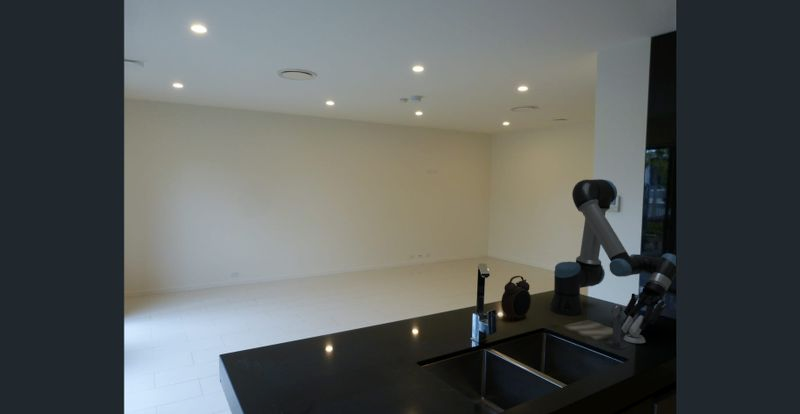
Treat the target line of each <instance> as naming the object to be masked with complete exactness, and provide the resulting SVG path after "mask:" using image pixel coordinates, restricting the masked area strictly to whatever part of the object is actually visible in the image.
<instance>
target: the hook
mask: <svg viewBox="0 0 800 414" xmlns="http://www.w3.org/2000/svg"><path fill="white" fill-rule="evenodd" d="M642 318H644V315H642V314H640V315H639V316H637V318H636V320H634V321H633V322H632V324H631V326H630V327H629V329H628V332H629V333H627V334H626V333H625V335H624V336H623V341H625V342H628V343H630V344H644V343H646V339H645V337H644V336H643V335H641V334H639V335H638V337H636V336H635V335H634V334H633V331H634V329H635V328H636V326H637V324H638V323H639V321H640V319H641V320H643V319H642Z"/></svg>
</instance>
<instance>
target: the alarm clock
mask: <svg viewBox="0 0 800 414" xmlns="http://www.w3.org/2000/svg"><path fill="white" fill-rule="evenodd" d="M516 278H520V279H521V280H520V281H517V282H515V283H514V282H513V280H515V279H516ZM530 286H531V285H530V284H529V283H528V282H527V279H524V277H523V276H521V275H515V276H512V277H511V278H510V279H509V281H508V282H507V283H506V284H505V285H504V292H503V294H502V297H501V309H502V311H503V313H504V314H506V319H508V317H511V318H512V320H511V322H514V320H515V318H516V319H521V318H524V319H526V318H527V317H526V315H527V313H528V312H529V310H530V308H531V303H532V297H531V293H530V291H529V290H530V288H531V287H530Z"/></svg>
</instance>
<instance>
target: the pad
mask: <svg viewBox="0 0 800 414" xmlns="http://www.w3.org/2000/svg"><path fill="white" fill-rule="evenodd" d="M562 328H563V329H565V330H568V331H570V332H573V333H575V334H577V335H580V336H582V337H585V338H588V339H590V340H593V341H594V342H596V341H599V340H600V341H601V340H605V339H608V338H613V327H611V326H607V325H604V324H602V323H599V322H596V321H593V320H591V319H587V320H586V319H585V320H582V321H577V322H573V323H569V324H565V325H563V327H562ZM622 332H623V331H621V335H622V334H623V333H622Z"/></svg>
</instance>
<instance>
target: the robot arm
mask: <svg viewBox="0 0 800 414" xmlns="http://www.w3.org/2000/svg"><path fill="white" fill-rule="evenodd" d="M571 195H572V197H571V198H572V200H573V203H574V205H575V208H576V209H577V210H578V212H580V213H582V215H583V217H584V226H583V232H582V239H581V247H580V253H579V255H578V256H577V257H576V258H575V261H562V262H559V263H557V264H556V265H554V272H553V273H554V276H553V277H554V280H553V281H554V282H553V283H554V286H553V287H554V292H553V297H552V299H551V302H550V305H549V309H550V311H551V312H553V313H557V314H559V315H564V316H565V315H566V316H579V315H583V314H584V306H583V304H582V299H581V288H587V287H594V286H596V285H600V284H601V283H602V282H603V280H605V279H604V278H605V276H606V275H605V274H606V273H605V268H604V267H603V265H602V261H601V259H600V258H599V257H600V251H601V247H602V249H603V250H604V252H605V254H606V255H607V258H608V259H609V261H610V263H609V264H608V265H609V271H610V272H611V274H612V275H613V276H616V277H619V278H621V277H630V276H633V275H634V276H635V275H641V274H648V275H649V277H648V279H647V281H646V283H645V284H644V285H643V288H642V291H641V292H639V294H635V293H632V294H631V296H630V297H631V298H630V299H629V301H628V303H627V305H626V307H625V308H624V309H623V314H625V316H626V317H625V318H624V320H623V325H622V326H621V331H622V332H623V333H625V334H626V333H627V332H629V329H630V327H631V326H632V324H633V323H634V319H633V318H634V317H636V315H637V314H638V313H639V312H640V311H641V310H642V309H643V308H645V307H646V308H645V311H644V314H643V317H644V318H642V319H643V320H641V319H640V321H639V323H638V324H637V326H636V328H635V329H634V331H633V334H634V335H635V336H636V337H638V335H641V332H642V331H644V330H645V329H646V327H647V325H648V324H652V325H654V324H656V323H655V322H657V320H658V318H659V316H661V315H660V314H661V313H662V311H663V310H664V309H666V308H667V307H668V306H667V303H666V302H665V301H664V300H662V299H663V298H664V296H665V295H666V293H667V291H668V290H669V287H670V286H671V285H672V282H673V280H674V279H675V277H676V276H677V274H676V256H677V255H675V254H673V253H669V252H668V253H663V255H662V256H661V257H655V256H648V255H643V254H636V253H633V254H629V253H628V252H627V250H626V249H625V246H624V245H623V243H622V241H621V240H620V238H619V236H618V235H617V233H616V232H615V231H614V228H613V227H612V225H611V224H610V222H609V220H608V219H607V217H606V213H607V211H608V210H610V208H611V204H612V203H613V202H614V201H616V199H617V197H618V189H617V186H616V185H615V184H614V183H613V182H612V180H611V181H610V180H608V179H600V178H597V179H582V180H579V182H577V183H576V184H575V185H574V186H573V188H572V193H571Z"/></svg>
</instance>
